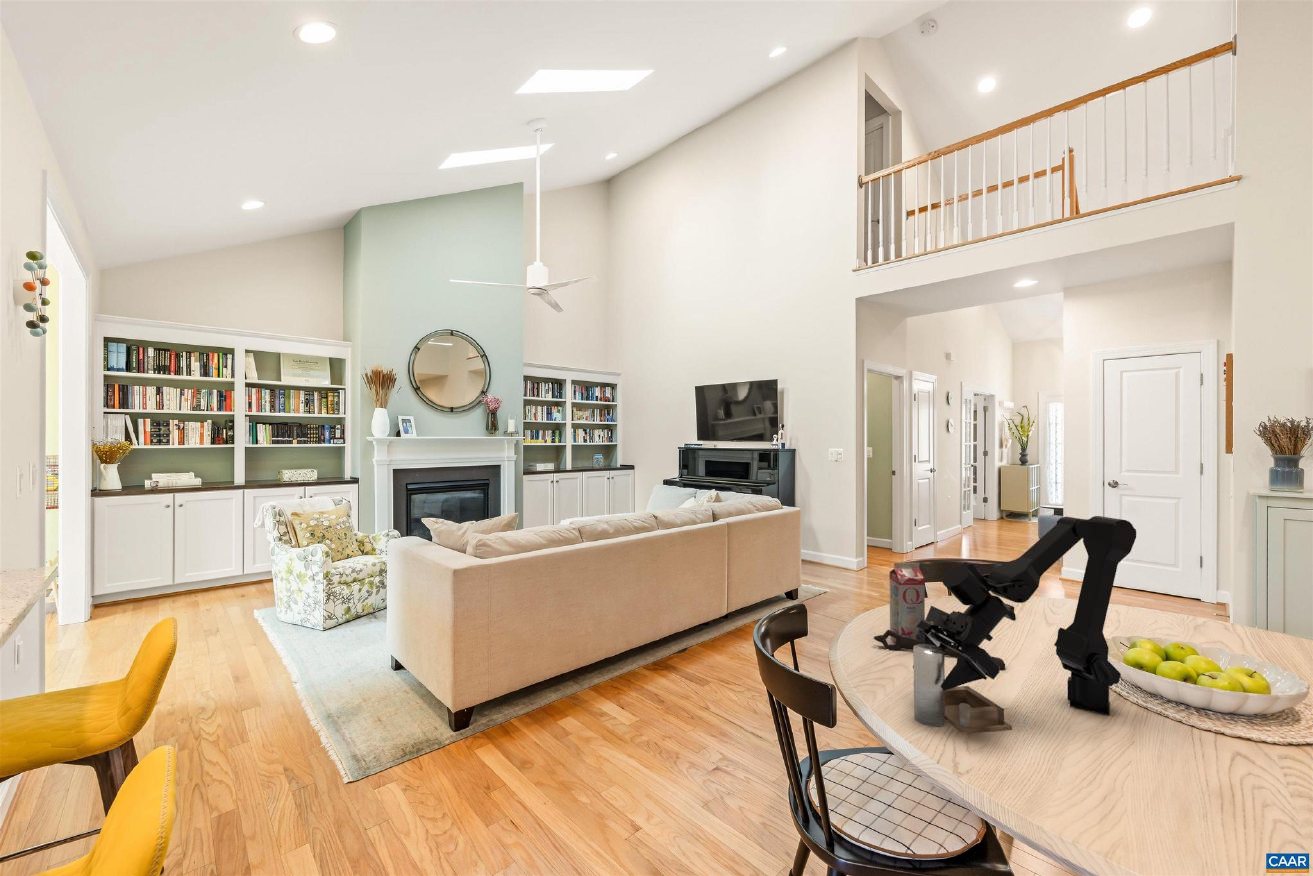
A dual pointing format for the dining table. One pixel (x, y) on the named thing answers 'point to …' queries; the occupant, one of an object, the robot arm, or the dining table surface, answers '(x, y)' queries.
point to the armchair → (973, 711)
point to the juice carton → (906, 600)
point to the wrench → (910, 643)
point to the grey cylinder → (929, 685)
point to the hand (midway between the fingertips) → (927, 678)
